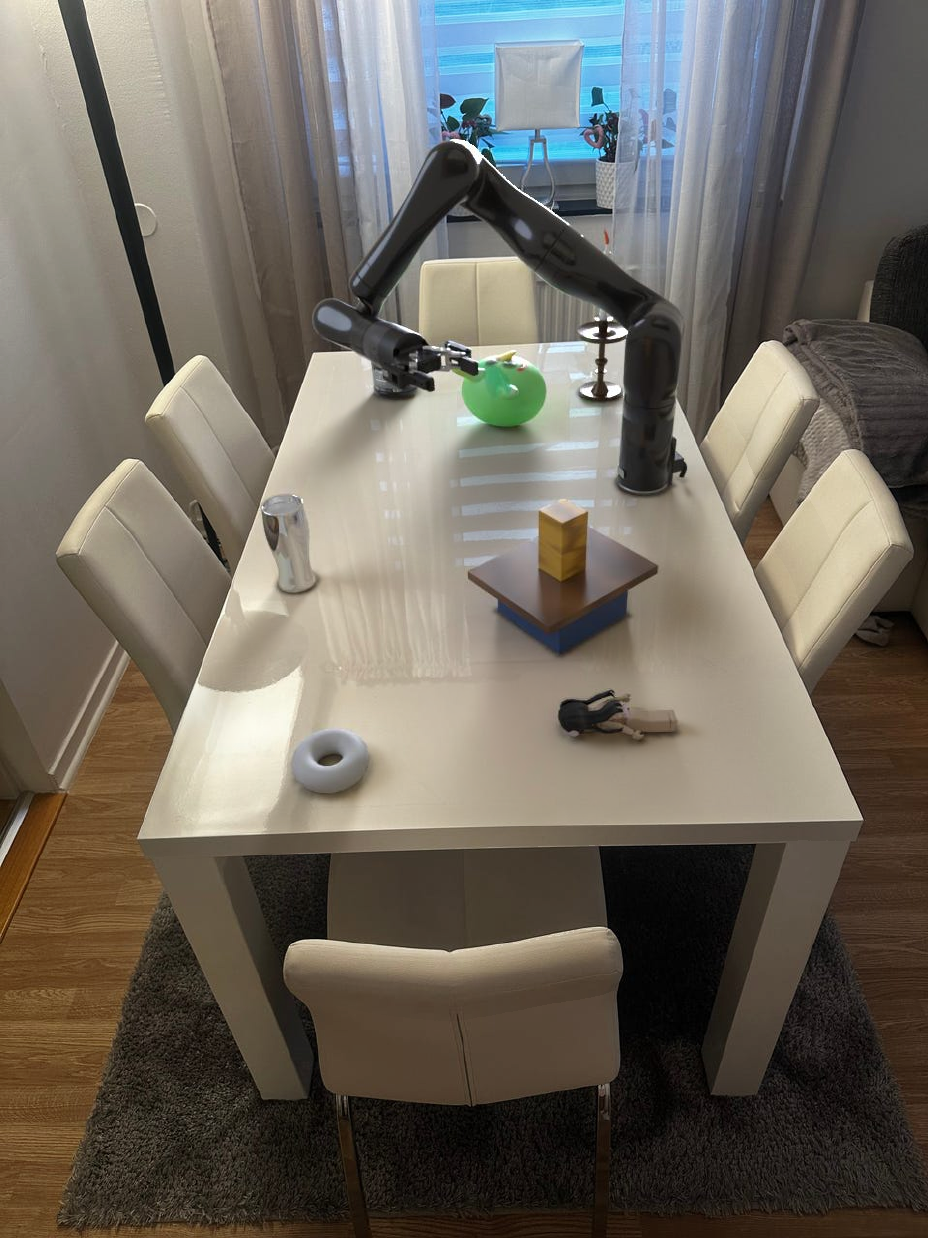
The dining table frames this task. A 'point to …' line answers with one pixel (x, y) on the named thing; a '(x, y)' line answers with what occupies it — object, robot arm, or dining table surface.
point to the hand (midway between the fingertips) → (455, 377)
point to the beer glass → (289, 540)
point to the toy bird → (504, 390)
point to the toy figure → (612, 717)
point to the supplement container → (389, 386)
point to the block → (562, 539)
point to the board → (570, 599)
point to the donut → (335, 775)
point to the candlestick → (601, 350)
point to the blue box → (573, 624)
